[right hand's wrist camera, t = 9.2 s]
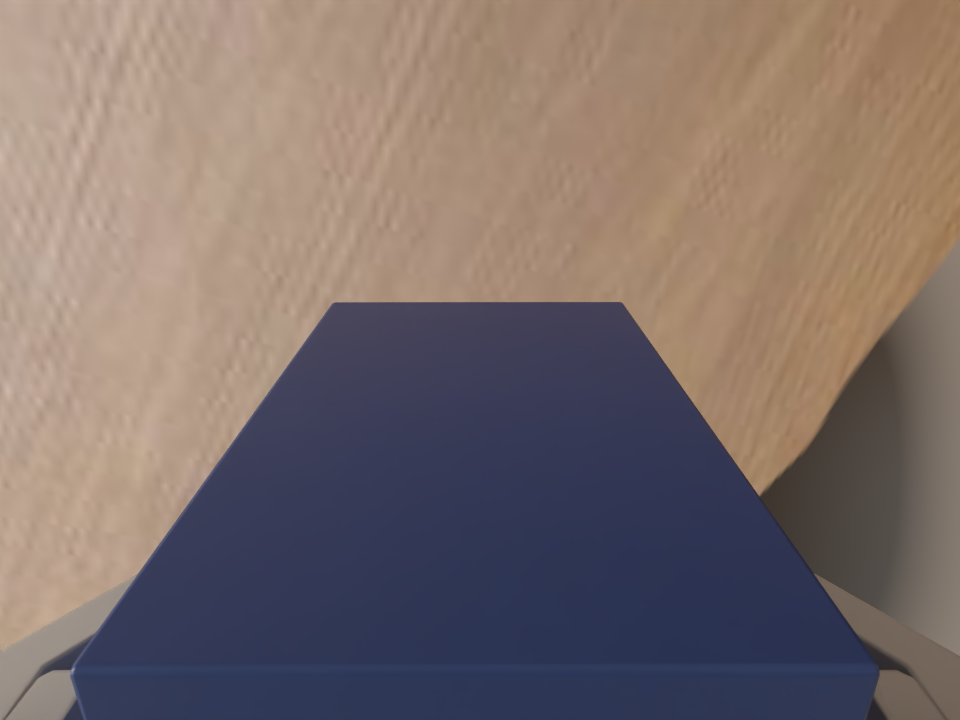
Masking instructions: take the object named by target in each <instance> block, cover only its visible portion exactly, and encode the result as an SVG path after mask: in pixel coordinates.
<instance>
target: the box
mask: <svg viewBox="0 0 960 720" xmlns="http://www.w3.org/2000/svg"><path fill="white" fill-rule="evenodd" d="M879 676H880V672H879V667H878V664H877V663H876V661H875V660H874V658H873V657H872V655H871V654H870V653H869V651H868V650H867V648H866V647H865V646H864V644H863V643H862V641H861V640H860V638H859V637H858V636H857V634H856V633H855V631H854V630H853V629H852V627H851V626H850V624H849V623H848V621H847V620H846V619H845V617H844V616H843V614H842V613H841V612H840V610H839V609H838V607H837V606H836V605H835V603H834V602H833V600H832V599H831V597H830V596H829V595H828V593H827V592H826V590H825V589H824V588H823V586H822V585H821V583H820V582H819V580H818V579H817V578H816V576H815V575H814V573H813V572H812V571H811V569H810V568H809V566H808V565H807V564H806V562H805V561H804V559H803V558H802V556H801V555H800V554H799V552H798V551H797V549H796V548H795V547H794V545H793V544H792V542H791V541H790V539H789V538H788V537H787V535H786V534H785V532H784V531H783V530H782V528H781V527H780V525H779V524H778V522H777V521H776V520H775V518H774V517H773V515H772V514H771V513H770V511H769V510H768V508H767V507H766V506H765V504H764V503H763V501H762V500H761V498H760V497H759V496H758V494H757V493H756V491H755V490H754V489H753V487H752V486H751V484H750V483H749V481H748V480H747V479H746V477H745V476H744V474H743V473H742V472H741V470H740V469H739V467H738V466H737V464H736V463H735V462H734V460H733V459H732V457H731V456H730V455H729V453H728V452H727V450H726V449H725V448H724V446H723V445H722V443H721V442H720V440H719V439H718V438H717V436H716V435H715V433H714V432H713V431H712V429H711V428H710V426H709V425H708V423H707V422H706V421H705V419H704V418H703V416H702V415H701V414H700V412H699V411H698V409H697V408H696V406H695V405H694V404H693V402H692V401H691V399H690V398H689V397H688V395H687V394H686V392H685V391H684V390H683V388H682V387H681V385H680V384H679V382H678V381H677V380H676V378H675V377H674V375H673V374H672V373H671V371H670V370H669V368H668V367H667V365H666V364H665V363H664V361H663V360H662V358H661V357H660V356H659V354H658V353H657V351H656V350H655V348H654V347H653V346H652V344H651V343H650V341H649V340H648V339H647V337H646V336H645V334H644V333H643V332H642V330H641V329H640V327H639V326H638V324H637V323H636V322H635V320H634V319H633V317H632V316H631V315H630V313H629V312H628V310H627V309H626V307H625V306H624V305H623V303H621V302H382V303H333V304H332V305H331V306H330V308H329V309H328V311H327V312H326V313H325V315H324V316H323V318H322V319H321V320H320V322H319V323H318V325H317V326H316V327H315V329H314V330H313V332H312V333H311V334H310V336H309V337H308V338H307V340H306V341H305V343H304V344H303V345H302V347H301V348H300V350H299V351H298V352H297V354H296V355H295V357H294V358H293V359H292V361H291V362H290V363H289V365H288V366H287V368H286V369H285V370H284V372H283V373H282V375H281V376H280V377H279V379H278V380H277V382H276V383H275V384H274V386H273V387H272V389H271V390H270V391H269V393H268V394H267V395H266V397H265V398H264V400H263V401H262V402H261V404H260V405H259V407H258V408H257V409H256V411H255V412H254V414H253V415H252V416H251V418H250V419H249V420H248V422H247V423H246V425H245V426H244V427H243V429H242V430H241V432H240V433H239V434H238V436H237V437H236V439H235V440H234V441H233V443H232V444H231V445H230V447H229V448H228V450H227V451H226V452H225V454H224V455H223V457H222V458H221V459H220V461H219V462H218V464H217V465H216V466H215V468H214V469H213V471H212V472H211V473H210V475H209V476H208V477H207V479H206V480H205V482H204V483H203V484H202V486H201V487H200V489H199V490H198V491H197V493H196V494H195V496H194V497H193V498H192V500H191V501H190V502H189V504H188V505H187V507H186V508H185V509H184V511H183V512H182V514H181V515H180V516H179V518H178V519H177V521H176V522H175V523H174V525H173V526H172V527H171V529H170V530H169V532H168V533H167V534H166V536H165V537H164V539H163V540H162V541H161V543H160V544H159V546H158V547H157V548H156V550H155V551H154V553H153V554H152V555H151V557H150V558H149V559H148V561H147V562H146V564H145V565H144V566H143V568H142V569H141V571H140V572H139V573H138V575H137V576H136V578H135V579H134V580H133V582H132V583H131V584H130V586H129V587H128V589H127V590H126V591H125V593H124V594H123V596H122V597H121V598H120V600H119V601H118V603H117V604H116V605H115V607H114V608H113V609H112V611H111V612H110V614H109V615H108V616H107V618H106V619H105V621H104V622H103V623H102V625H101V626H100V628H99V629H98V630H97V632H96V633H95V635H94V636H93V637H92V639H91V640H90V641H89V643H88V644H87V646H86V647H85V648H84V650H83V651H82V653H81V654H80V655H79V657H78V658H77V660H76V661H75V662H74V664H73V665H72V668H71V672H70V678H71V681H72V684H73V688H74V691H75V694H76V697H77V700H78V704H79V707H80V710H81V713H82V716H83V719H84V720H866V719H867V716H868V712H869V709H870V706H871V703H872V699H873V696H874V693H875V689H876V686H877V683H878V680H879Z"/></svg>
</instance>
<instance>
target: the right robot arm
mask: <svg viewBox="0 0 960 720" xmlns="http://www.w3.org/2000/svg"><path fill="white" fill-rule="evenodd" d="M137 575H138V574H137ZM137 575H135V576H134V577H132V578H130V579H128V580H126V581H125V582H123V583H121V584H119V585H118V586H116V587H114V588H112V589H110V590H109V591H107V592H105V593H103V594H101V595H100V596H98V597H96V598H94V599H93V600H91V601H89V602H87V603H85V604H84V605H82V606H80V607H78V608H77V609H75V610H73V611H71V612H69V613H68V614H66V615H64V616H62V617H61V618H59V619H57V620H55V621H53V622H52V623H50V624H48V625H46V626H44V627H43V628H41V629H39V630H37V631H36V632H34V633H32V634H30V635H28V636H27V637H25V638H23V639H21V640H20V641H18V642H16V643H14V644H12V645H11V646H9V647H7V648H5V649H4V650H2V651H0V720H84V719H83V716H82V713H81V710H80V707H79V704H78V700H77V697H76V694H75V691H74V688H73V684H72V681H71V678H70V672H71V668H72V665H73V664H74V662H75V661H76V660H77V658H78V657H79V655H80V654H81V653H82V651H83V650H84V648H85V647H86V646H87V644H88V643H89V641H90V640H91V639H92V637H93V636H94V635H95V633H96V632H97V630H98V629H99V628H100V626H101V625H102V623H103V622H104V621H105V619H106V618H107V616H108V615H109V614H110V612H111V611H112V609H113V608H114V607H115V605H116V604H117V603H118V601H119V600H120V598H121V597H122V596H123V594H124V593H125V591H126V590H127V589H128V587H129V586H130V584H131V583H132V582H133V580H134V579H135V578H136V576H137ZM814 575H815V576H816V578H817V579H818V580H819V582H820V583H821V585H822V586H823V588H824V589H825V590H826V592H827V593H828V595H829V596H830V597H831V599H832V600H833V602H834V603H835V605H836V606H837V607H838V609H839V610H840V612H841V613H842V614H843V616H844V617H845V619H846V620H847V621H848V623H849V624H850V626H851V627H852V629H853V630H854V631H855V633H856V634H857V636H858V637H859V638H860V640H861V641H862V643H863V644H864V646H865V647H866V648H867V650H868V651H869V653H870V654H871V655H872V657H873V658H874V660H875V661H876V663H877V664H878V667H879V672H880V676H879V680H878V683H877V686H876V689H875V693H874V696H873V699H872V703H871V706H870V709H869V712H868V716H867V719H866V720H960V656H958V655H957V654H955V653H953V652H951V651H950V650H948V649H946V648H944V647H943V646H941V645H939V644H937V643H935V642H934V641H932V640H930V639H928V638H927V637H925V636H923V635H921V634H920V633H918V632H916V631H914V630H913V629H911V628H909V627H907V626H906V625H904V624H902V623H900V622H899V621H897V620H895V619H893V618H892V617H890V616H888V615H886V614H884V613H883V612H881V611H879V610H877V609H876V608H874V607H872V606H870V605H869V604H867V603H865V602H863V601H862V600H860V599H858V598H856V597H854V596H853V595H851V594H849V593H847V592H846V591H844V590H842V589H841V588H839V587H837V586H835V585H833V584H832V583H830V582H828V581H826V580H825V579H823V578H821V577H819V576H818V575H816V574H814Z"/></svg>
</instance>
